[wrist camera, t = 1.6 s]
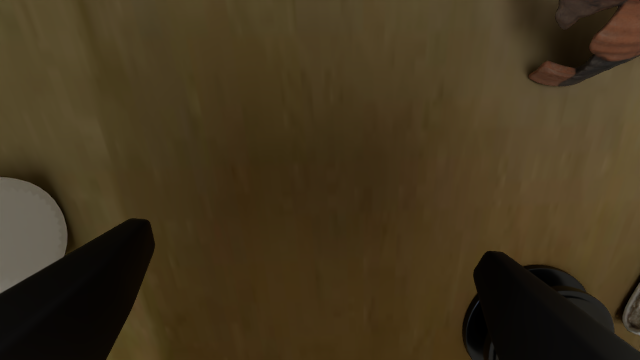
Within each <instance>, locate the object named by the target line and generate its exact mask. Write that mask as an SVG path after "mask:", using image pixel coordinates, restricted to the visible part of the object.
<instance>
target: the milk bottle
mask: <svg viewBox="0 0 640 360" xmlns="http://www.w3.org/2000/svg"><path fill="white" fill-rule="evenodd" d="M66 246H67V226H66V223H65V219H64V216H63V214H62V212H61V209H60V208H59V206H58V205H57V203H56V202H55V200H54V199H53V198H52V197H51V196H50V195H49V194H48V193H47V192H45V191H44V190H42V189H41V188H40V187H38V186H36V185H34V184H32V183H30V182H26V181H23V180H19V179H15V178H8V177H0V293H2V292H3V291H5V290H7V289H9V288H10V287H12V286H14V285H16V284H17V283H19V282H21V281H22V280H24V279H26V278H28V277H29V276H31V275H33V274H35V273H36V272H38V271H40V270H42V269H43V268H45V267H47V266H48V265H50V264H52V263H54V262H55V261H57V260H59V259H61V258H62V257H64V255H65V250H66Z"/></svg>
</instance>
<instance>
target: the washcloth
mask: <svg viewBox="0 0 640 360" xmlns="http://www.w3.org/2000/svg"><path fill="white" fill-rule="evenodd" d="M622 320H623V324H624V326H625V328H626V329H627V330H628V331H630V332H633V333H634V334H638V335H640V283H639V285H638V286H637V287H636V289H635V291H634V292H633V294H632V295H631V297H630V299H629V301H628V303H627V305H626V307H625V310H624V313H623V317H622Z"/></svg>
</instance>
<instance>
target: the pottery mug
mask: <svg viewBox="0 0 640 360" xmlns="http://www.w3.org/2000/svg"><path fill="white" fill-rule="evenodd" d="M615 6H618V8H617V10H616V12H615V13H614V15H613V17H612V18H611V19H610V20H609V21H608V23H607V24H606V25H605V26H604V27H603V28H602V29H600V30H599V31H598V32H597V33H596V34H595V35H594V36H593V38H592V41H591V43H590V45H589V50H590V51H591V52H592V53H593V54H594V55H593V56H591V57H590V58H589V60H588V61H586V62H585V64H583V65H581V66H579V67H577V68H572V67H566V66H563V65H559V64H556V63H553V62H551V61H545V62H544V63H543V64H542V65H541V66H540V67H539V68H538V70H535V71H534V72H532V73H531V74H530V75H529V78H530V79H531V80H533V81H535V82H537V83H541V84H545V85H551V86H569V85H574V84H577V83H579V82H582V81H583V80H585V79H588V78H590V77H592V76H595V75H597V74H599V73H601V72H603V71H606V70H609V69H611V68H613V67H615V66H618V65H620V64H622V63H625V62H628V61H630V60H631V59H634V58H636V57H638V56H640V0H559V7H558V9H557V12H556V14H555V19H556V21H557V23H558V24H559V26H560V27H561V28H562V29H568V28H569V27H570V26H571V25H573V24H574V23H575V22H577V21H578V20H579V19H580V18H583V17H587V16H590V15H592V14H594V13H597V12H599V11H602V10H605V9H609V8H612V7H615Z"/></svg>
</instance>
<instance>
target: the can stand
mask: <svg viewBox="0 0 640 360" xmlns="http://www.w3.org/2000/svg"><path fill="white" fill-rule="evenodd" d="M524 268H525V269H527V270H528V271H529V272H531V273H532V274H534V275H535V276H536V277H538V278H539V279H540V280H542V281H543V282H545V283H546V284H547V285H549V286H550V287H551V288H553V289H554V290H555V291H557V292H558V293H560V294H561V295H562V296H564V297H565V298H566V299H568V300H569V301H570V302H572V303H573V304H575V305H576V306H577V307H579V308H580V309H581V310H583V311H584V312H586V313H587V314H588V315H590V316H591V317H592V318H594V319H595V320H596V321H598V322H599V323H601V324H602V325H603V326H605V327H606V328H607V329H609V330H610V331H612V332H613V333H614V324H613V320H612V317H611V315H610V313H609V311H608V310H607V308H606V307H605V306H604V305H603V304H602V303H601V302H600V301H599V300H597V299H596V298H595V297H593V296H591V295H590V294H588V293H587V292H586V290H585V289H584V287H583V286H582V285H581V284H580V283H579V282H578V281H577V280H576V279H575V278H574V277H572V276H571V275H569V274H568V273H566V272H564V271H562V270H560V269H557V268H554V267H550V266H544V265H531V266H524ZM463 341H464V345H465V348H466V350H467V352H468V354H469V355H470V357H471V358H472V360H499V359H498V356H497V353H496V351H495V348H494V345H493V343H492V340H491V337H490V335H489V332H488V328H487V325H486V322H485V318H484V314H483V311H482V307H481V304H480V300H479V296H478V294H477V295H476V297H475V298H474V300H473V301H472V303H471V304H470V306H469V308H468V310H467V313H466V315H465V318H464V323H463Z"/></svg>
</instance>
